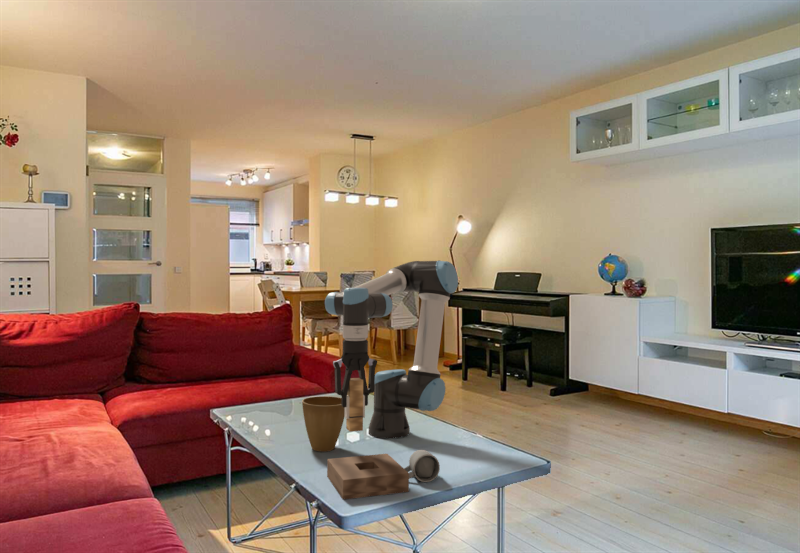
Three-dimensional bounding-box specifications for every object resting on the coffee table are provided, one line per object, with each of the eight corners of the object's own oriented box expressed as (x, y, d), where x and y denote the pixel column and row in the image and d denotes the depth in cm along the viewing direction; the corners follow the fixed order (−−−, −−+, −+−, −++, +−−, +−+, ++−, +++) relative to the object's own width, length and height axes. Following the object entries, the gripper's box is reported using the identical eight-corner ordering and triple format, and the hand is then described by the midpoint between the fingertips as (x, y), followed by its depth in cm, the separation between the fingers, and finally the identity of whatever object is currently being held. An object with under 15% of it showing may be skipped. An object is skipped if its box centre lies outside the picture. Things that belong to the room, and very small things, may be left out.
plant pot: (303, 456, 182) (304, 406, 182) (299, 443, 196) (300, 396, 196) (350, 453, 186) (350, 404, 186) (342, 441, 200) (343, 395, 200)
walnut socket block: (386, 470, 170) (387, 453, 170) (408, 491, 153) (408, 473, 153) (327, 476, 164) (327, 459, 164) (342, 499, 147) (343, 479, 147)
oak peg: (359, 427, 175) (359, 377, 175) (362, 430, 171) (363, 380, 171) (346, 428, 173) (346, 378, 173) (349, 431, 169) (350, 380, 169)
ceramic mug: (431, 471, 170) (431, 445, 170) (440, 481, 162) (440, 454, 162) (396, 474, 167) (396, 448, 167) (403, 484, 159) (403, 456, 159)
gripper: (330, 341, 165) (329, 422, 166) (386, 339, 171) (385, 418, 171) (324, 338, 173) (323, 416, 173) (378, 337, 178) (378, 412, 178)
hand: (354, 417), depth 172 cm, fingers closed on oak peg, 4 cm apart
